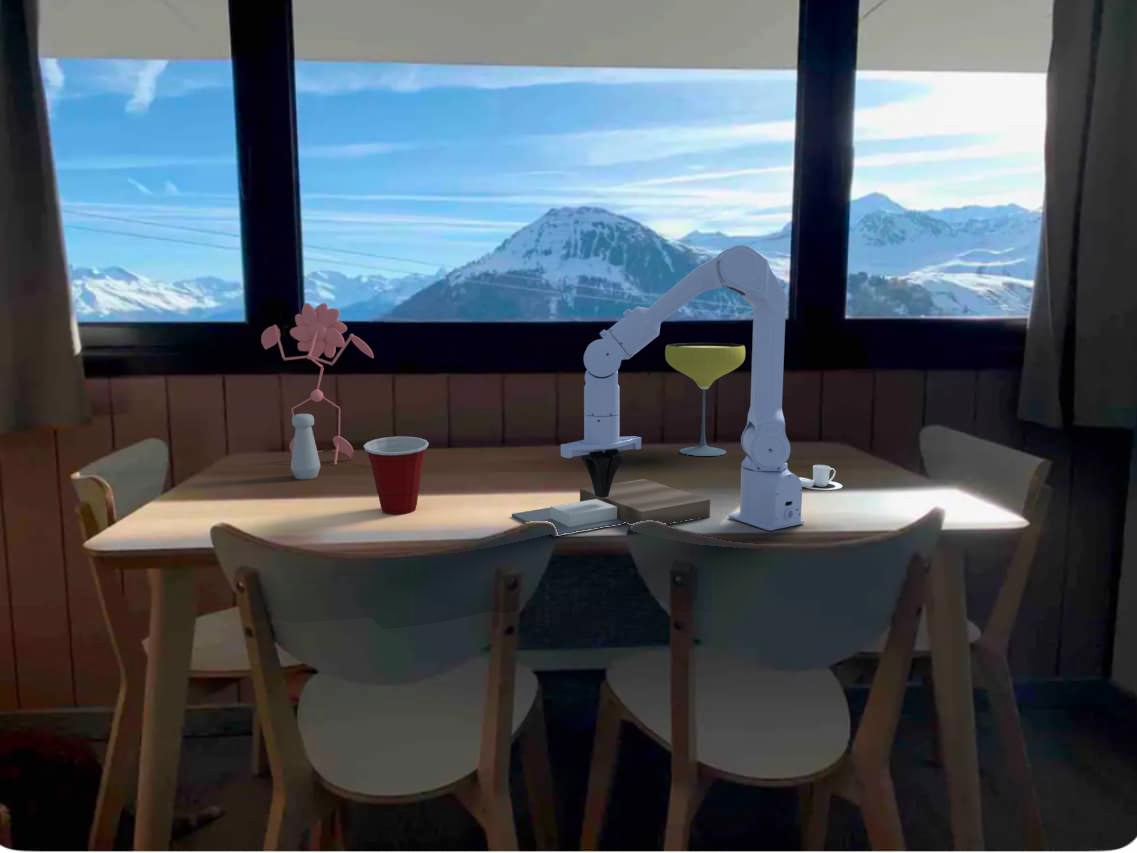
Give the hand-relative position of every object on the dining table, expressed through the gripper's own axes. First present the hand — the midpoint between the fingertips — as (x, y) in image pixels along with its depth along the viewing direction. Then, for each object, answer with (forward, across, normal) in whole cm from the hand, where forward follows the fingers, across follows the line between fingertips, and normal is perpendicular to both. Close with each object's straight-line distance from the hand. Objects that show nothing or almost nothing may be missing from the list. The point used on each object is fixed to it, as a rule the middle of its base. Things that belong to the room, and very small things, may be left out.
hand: (601, 496), depth 132 cm
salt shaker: (+4, +34, -58) cm, 67 cm away
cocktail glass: (+4, -52, -34) cm, 62 cm away
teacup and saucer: (+4, -48, 0) cm, 49 cm away
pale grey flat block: (+3, +3, 0) cm, 5 cm away
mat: (+4, +6, -2) cm, 7 cm away
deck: (+4, -8, 0) cm, 9 cm away
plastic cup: (+4, +26, -23) cm, 35 cm away
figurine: (+4, +24, -75) cm, 79 cm away
